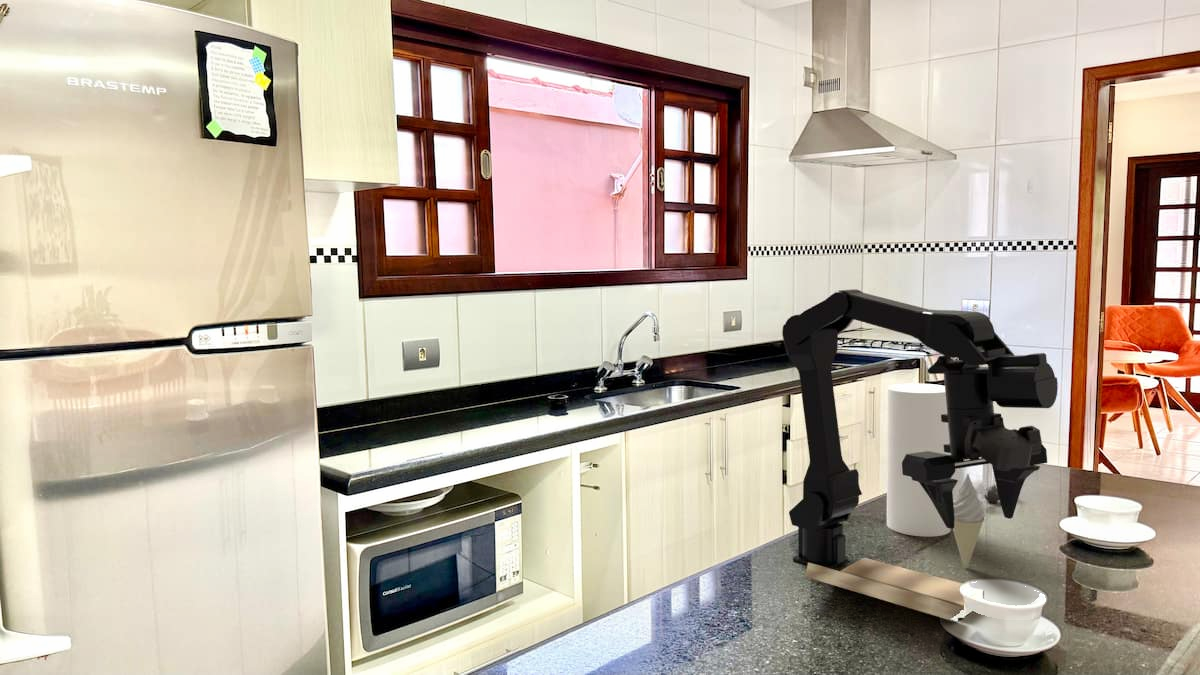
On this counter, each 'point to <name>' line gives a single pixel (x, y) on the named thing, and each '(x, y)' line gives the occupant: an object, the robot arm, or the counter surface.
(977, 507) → the ice cream cone
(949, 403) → the robot arm
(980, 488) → the bat toy
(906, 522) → the tall pillar cylinder
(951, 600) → the floor strip
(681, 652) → the counter surface
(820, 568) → the oak plank
